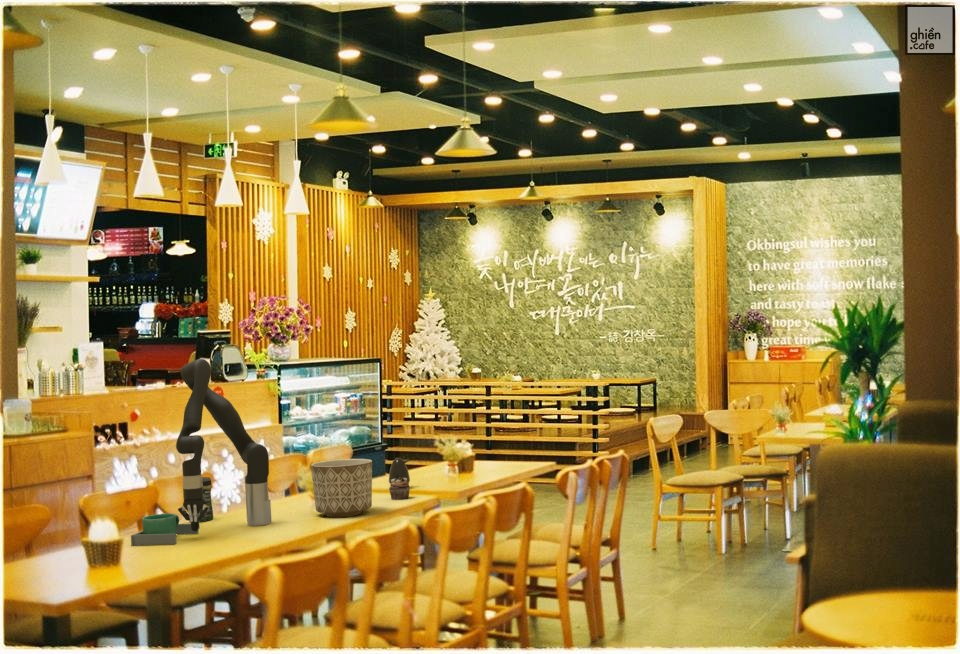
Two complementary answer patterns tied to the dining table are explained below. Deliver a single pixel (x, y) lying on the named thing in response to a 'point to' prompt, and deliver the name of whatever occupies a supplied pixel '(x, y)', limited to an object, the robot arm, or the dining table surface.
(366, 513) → the dining table surface
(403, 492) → the cupcake
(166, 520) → the mug
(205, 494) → the coffee jar
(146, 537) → the tray
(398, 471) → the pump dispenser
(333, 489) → the planter
